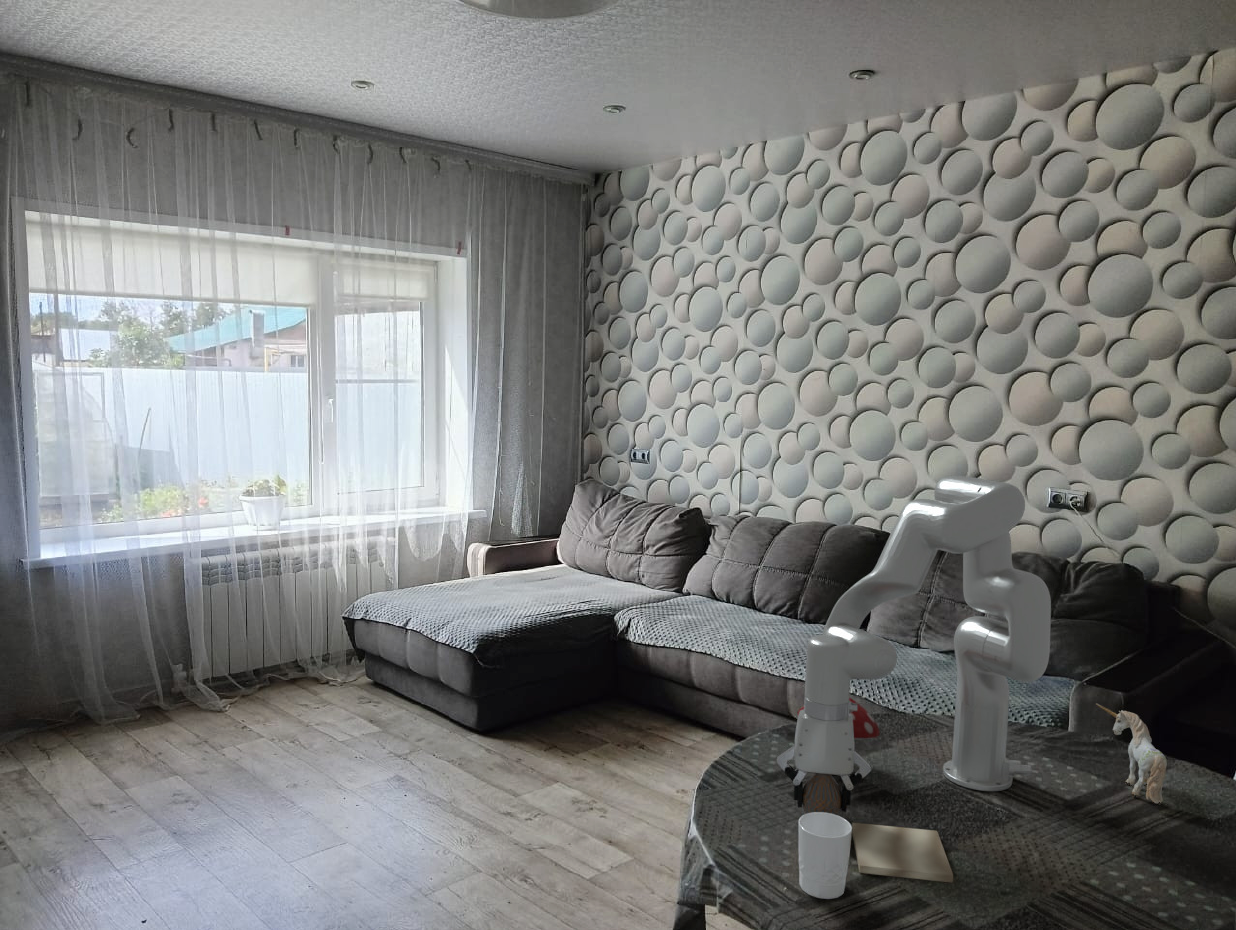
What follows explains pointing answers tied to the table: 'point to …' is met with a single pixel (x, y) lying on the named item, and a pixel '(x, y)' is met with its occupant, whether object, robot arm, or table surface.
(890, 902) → the table surface
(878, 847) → the birch pad
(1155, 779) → the unicorn figurine
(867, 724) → the decorative mushroom
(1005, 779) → the robot arm
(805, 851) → the white cup
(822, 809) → the vase
